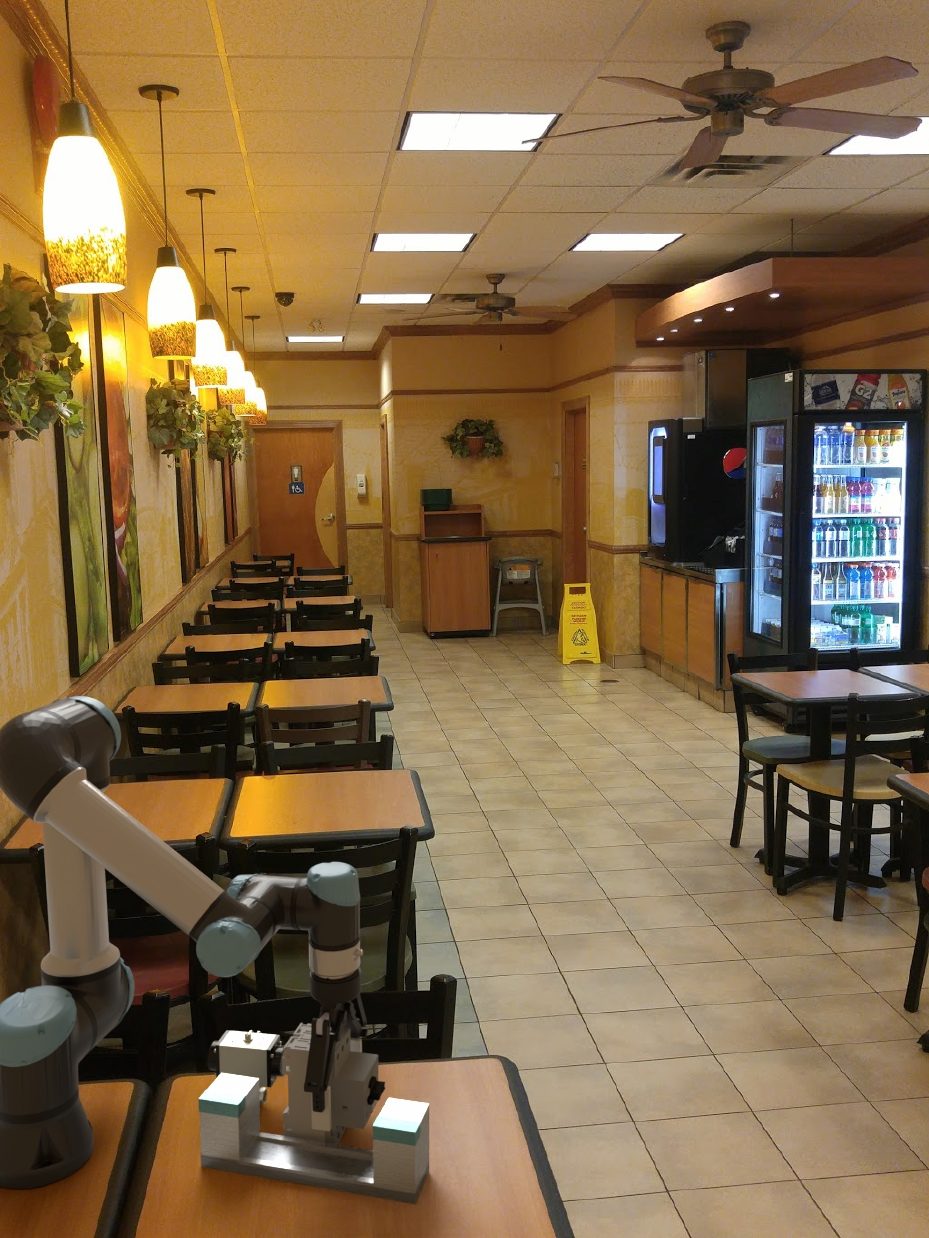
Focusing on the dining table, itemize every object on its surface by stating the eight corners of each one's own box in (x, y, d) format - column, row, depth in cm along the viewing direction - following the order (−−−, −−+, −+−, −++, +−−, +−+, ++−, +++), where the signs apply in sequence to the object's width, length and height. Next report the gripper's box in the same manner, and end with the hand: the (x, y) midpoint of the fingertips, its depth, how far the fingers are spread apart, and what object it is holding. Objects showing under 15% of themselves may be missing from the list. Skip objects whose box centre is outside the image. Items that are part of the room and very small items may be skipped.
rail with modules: (200, 1167, 155) (198, 1098, 154) (222, 1138, 162) (221, 1072, 161) (415, 1204, 148) (415, 1132, 146) (429, 1172, 155) (429, 1102, 153)
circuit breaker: (375, 1154, 159) (375, 1058, 157) (283, 1141, 162) (281, 1047, 160) (389, 1124, 166) (388, 1032, 164) (300, 1113, 169) (299, 1022, 167)
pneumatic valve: (280, 1116, 168) (279, 1044, 166) (208, 1109, 170) (206, 1037, 168) (291, 1096, 173) (290, 1026, 172) (221, 1089, 175) (219, 1019, 173)
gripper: (328, 1011, 147) (332, 1155, 150) (385, 936, 171) (387, 1062, 174) (277, 1005, 149) (281, 1148, 152) (340, 931, 173) (343, 1056, 176)
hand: (338, 1102), depth 163 cm, fingers open, 13 cm apart
